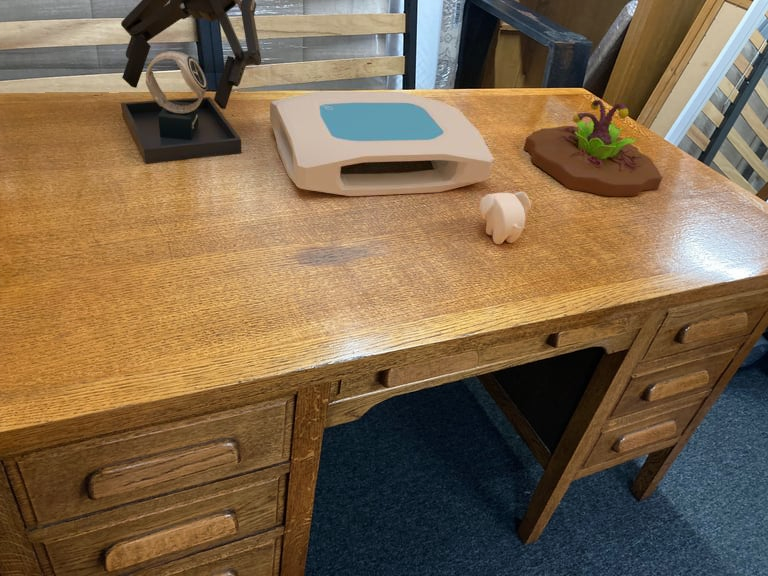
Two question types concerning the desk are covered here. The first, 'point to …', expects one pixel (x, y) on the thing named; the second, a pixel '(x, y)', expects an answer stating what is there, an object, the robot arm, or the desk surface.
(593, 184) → the plant
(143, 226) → the desk surface
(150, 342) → the desk surface
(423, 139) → the document scanner
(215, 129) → the tray
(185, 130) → the watch
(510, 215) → the elephant figurine
